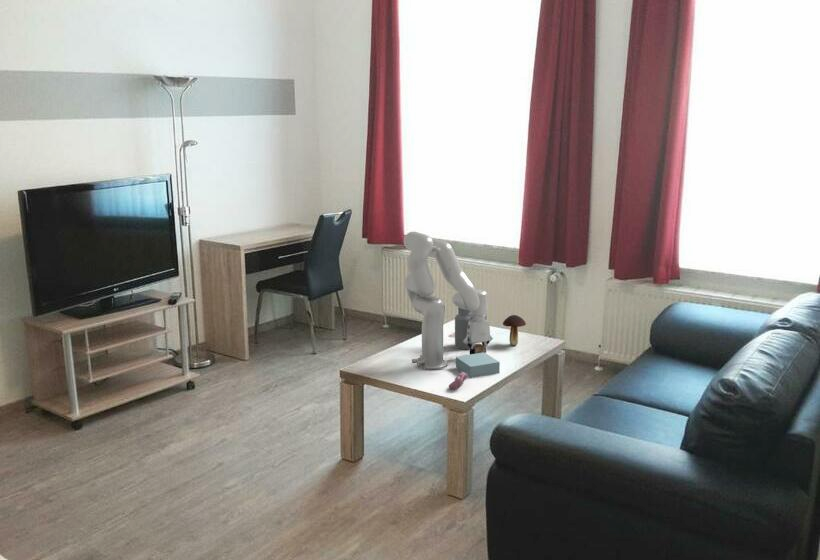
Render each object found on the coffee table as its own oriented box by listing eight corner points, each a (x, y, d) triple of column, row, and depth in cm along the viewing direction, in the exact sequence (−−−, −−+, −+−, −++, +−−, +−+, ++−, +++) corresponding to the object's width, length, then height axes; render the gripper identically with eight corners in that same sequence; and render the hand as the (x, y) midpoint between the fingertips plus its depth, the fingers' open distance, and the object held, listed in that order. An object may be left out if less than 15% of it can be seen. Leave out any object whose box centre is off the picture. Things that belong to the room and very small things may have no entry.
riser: (470, 377, 313) (470, 366, 312) (455, 367, 326) (455, 356, 325) (499, 372, 319) (499, 362, 318) (483, 362, 331) (484, 352, 330)
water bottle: (476, 343, 358) (477, 287, 351) (475, 350, 348) (475, 292, 342) (455, 343, 359) (455, 287, 353) (454, 349, 350) (453, 292, 344)
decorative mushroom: (498, 346, 353) (499, 316, 350) (508, 340, 362) (509, 310, 359) (519, 350, 348) (520, 319, 344) (529, 343, 356) (530, 313, 353)
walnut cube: (475, 358, 337) (475, 347, 336) (470, 355, 341) (470, 344, 340) (485, 357, 339) (485, 346, 337) (480, 353, 343) (480, 343, 342)
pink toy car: (456, 394, 300) (464, 380, 298) (447, 388, 301) (454, 374, 299) (463, 385, 309) (471, 372, 307) (454, 380, 310) (461, 366, 308)
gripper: (465, 321, 329) (464, 360, 333) (498, 317, 336) (498, 355, 340) (457, 317, 336) (457, 355, 340) (490, 313, 342) (490, 350, 346)
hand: (477, 355), depth 340 cm, fingers closed on walnut cube, 4 cm apart
